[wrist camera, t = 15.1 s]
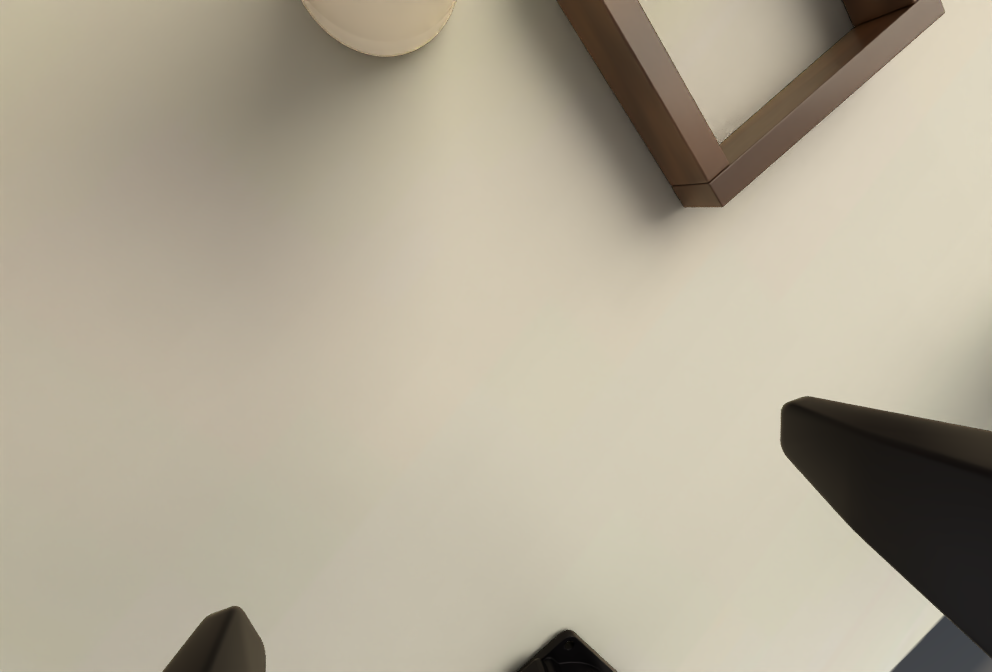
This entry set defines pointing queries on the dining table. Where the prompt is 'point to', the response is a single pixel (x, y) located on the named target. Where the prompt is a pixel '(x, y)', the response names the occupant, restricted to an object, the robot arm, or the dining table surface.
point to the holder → (769, 132)
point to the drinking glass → (381, 23)
